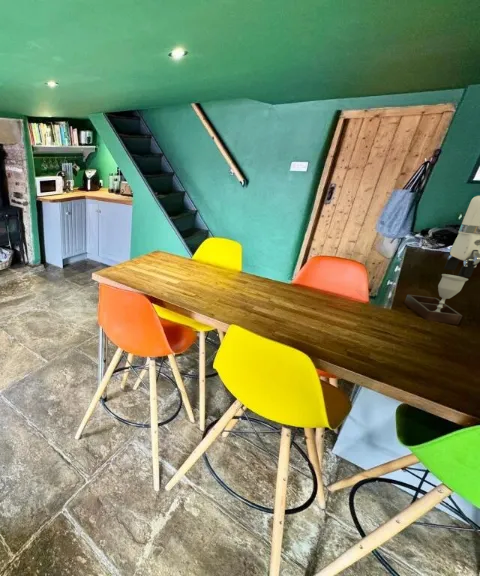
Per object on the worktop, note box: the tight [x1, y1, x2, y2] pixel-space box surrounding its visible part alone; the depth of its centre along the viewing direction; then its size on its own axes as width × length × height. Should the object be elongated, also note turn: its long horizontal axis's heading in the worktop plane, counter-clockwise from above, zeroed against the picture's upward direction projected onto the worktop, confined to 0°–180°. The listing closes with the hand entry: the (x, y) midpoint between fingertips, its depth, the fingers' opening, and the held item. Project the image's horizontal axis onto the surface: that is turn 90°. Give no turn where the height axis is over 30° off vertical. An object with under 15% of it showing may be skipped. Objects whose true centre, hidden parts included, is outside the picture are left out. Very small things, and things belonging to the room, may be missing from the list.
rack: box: [403, 293, 463, 325], centre depth 130 cm, size 10×19×5 cm, turn 155°
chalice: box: [435, 273, 469, 312], centre depth 124 cm, size 7×7×18 cm
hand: (456, 272), depth 119 cm, fingers open, 9 cm apart
